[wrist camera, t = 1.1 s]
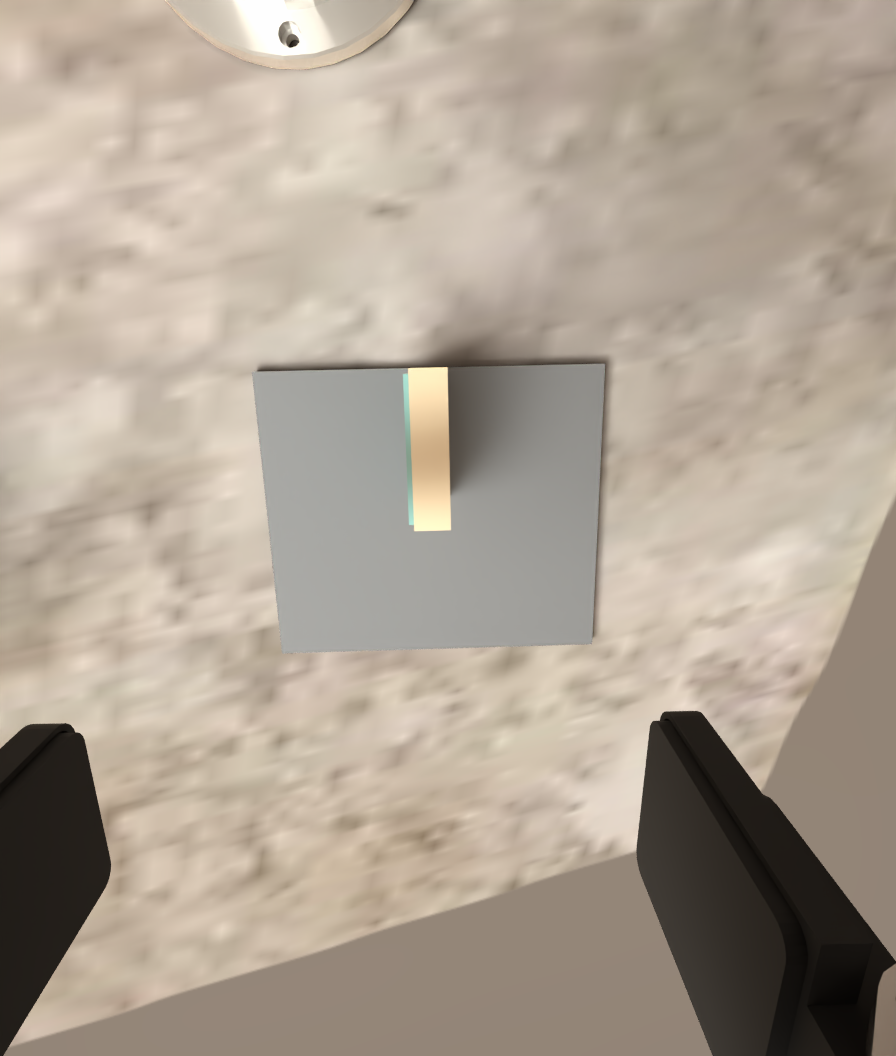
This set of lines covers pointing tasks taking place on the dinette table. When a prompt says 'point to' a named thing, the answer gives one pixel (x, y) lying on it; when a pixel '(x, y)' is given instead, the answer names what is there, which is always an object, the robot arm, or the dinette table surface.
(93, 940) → the dinette table surface
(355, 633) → the mat
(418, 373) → the tile
